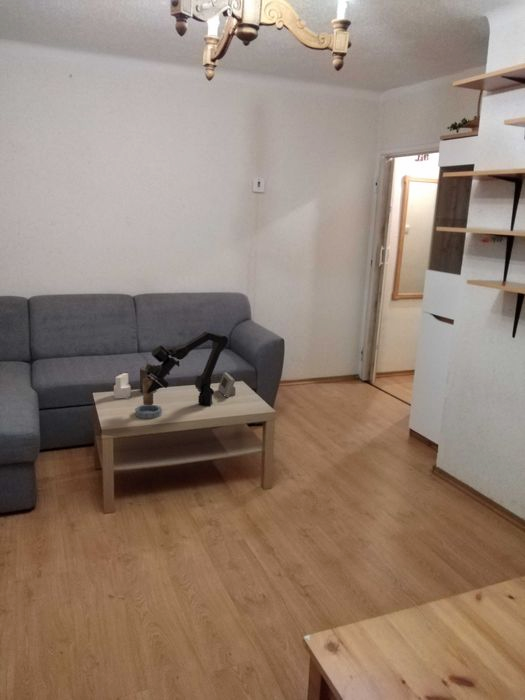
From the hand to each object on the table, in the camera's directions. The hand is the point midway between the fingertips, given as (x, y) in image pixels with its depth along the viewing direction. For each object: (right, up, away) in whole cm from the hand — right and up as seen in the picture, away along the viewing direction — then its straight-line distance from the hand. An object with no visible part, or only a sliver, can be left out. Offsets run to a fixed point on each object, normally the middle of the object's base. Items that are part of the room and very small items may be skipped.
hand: (145, 391), depth 277 cm
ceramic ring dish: (+1, -12, +4) cm, 12 cm away
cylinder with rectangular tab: (-19, -5, +30) cm, 35 cm away
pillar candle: (-7, -3, +40) cm, 40 cm away
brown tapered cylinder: (+1, -6, +2) cm, 7 cm away
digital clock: (+38, -4, +40) cm, 55 cm away
